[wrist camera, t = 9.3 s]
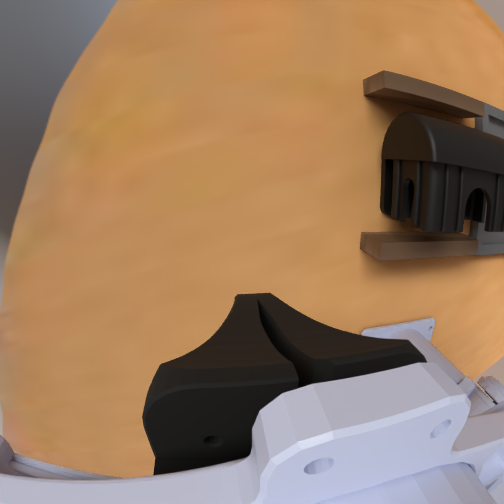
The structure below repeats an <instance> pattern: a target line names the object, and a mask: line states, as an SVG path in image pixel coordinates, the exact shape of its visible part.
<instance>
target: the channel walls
mask: <svg viewBox="0 0 504 504" xmlns="http://www.w3.org/2000/svg"><path fill="white" fill-rule="evenodd" d="M363 84H364V95H365V96H371V97H377V98H382V99H387V100H392V101H397V102H401V103H406V104H410V105H414V106H419V107H423V108H427V109H430V110H434V111H438V112H441V113H445V114H448V115H452V116H455V117H458V118H474V117H485V110H484V103H483V102H481V101H479V100H476V99H474V98H471V97H469V96H466V95H463V94H461V93H458V92H455V91H453V90H450V89H447V88H444V87H441V86H438V85H435V84H432V83H429V82H425V81H422V80H419V79H415V78H412V77H408V76H404V75H401V74H397V73H393V72H389V71H384V70H383V71H381V72H379V73H377V74H375V75H373V76H371V77H368V78H366V79H364V80H363ZM478 243H479V240H477V239H474V238H472V237H469V236H466V235H464V234H461V233H459V232H361V242H360V249H362V250H363V251H365V252H366V253H368V254H369V255H371V256H373V257H374V258H376V259H377V260H379V261H385V260H402V259H419V258H435V257H450V256H465V255H477V249H478Z"/></svg>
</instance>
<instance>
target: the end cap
mask: <svg viewBox="0 0 504 504" xmlns="http://www.w3.org/2000/svg"><path fill="white" fill-rule="evenodd" d="M381 159H382V170H381V196H380V209H381V211H382V212H383V213H385V214H387V215H391V218H392V219H395V220H398V221H400V222H406V218H412V226H413V227H416V228H418V229H421V230H424V231H428V232H463V224H464V219H467V220H473V221H477V222H480V223H484V219H485V210H486V202H487V211H486V220H485V228H484V231H487V232H504V139H503V138H500V137H498V136H495V135H492V134H489V133H486V132H483V131H480V130H477V129H474V128H470V127H467V126H464V125H460V124H457V123H453V122H450V121H446V120H442V119H439V118H435V117H431V116H426V115H422V114H418V113H413V112H405V113H403V114H400V115H399V116H397V117H396V118H395V119H394V120H393V121H392V122H391V124H390V126H389V127H388V129H387V132H386V134H385V137H384V141H383V146H382V156H381Z"/></svg>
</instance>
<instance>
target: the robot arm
mask: <svg viewBox="0 0 504 504" xmlns="http://www.w3.org/2000/svg"><path fill="white" fill-rule="evenodd" d="M434 325H435V320H434V319H433V318H426V319H421V320H416V321H410V322H405V323H399V324H393V325H387V326H380V327H374V328H367V329H365V330H363V331H362V333H361V335H358V334H353V333H350V332H346V331H342V330H339V329H336V328H333V327H330V326H327V325H325V324H322V323H320V322H317V321H315V320H313V319H311V318H309V317H307V316H305V315H304V314H302V313H300V312H298V311H297V310H295V309H293V308H292V307H290V306H289V305H287V304H286V303H284V302H283V301H281V300H280V299H278V298H277V297H275V296H274V295H272V294H271V293H257V294H238V295H237V296H236V297H235V301H234V304H233V307H232V309H231V311H230V313H229V315H228V316H227V318H226V320H225V321H224V322H223V324H222V325H221V327H220V328H219V329H218V330H217V332H216V333H215V334H214V335H213V336H212V337H211V338H210V339H209V340H207V341H206V342H205V343H203V344H202V345H201V346H199V347H198V348H196V349H195V350H193V351H191V352H189V353H187V354H185V355H183V356H181V357H179V358H176V359H174V360H171V361H168V362H166V363H162V364H161V365H160V366H159V368H158V370H157V372H156V374H155V376H154V378H153V380H152V383H151V385H150V387H149V390H148V393H147V397H146V401H145V406H144V411H143V416H142V418H143V425H144V429H145V431H146V434H147V437H148V440H149V442H150V445H151V448H152V450H153V453H154V455H155V466H154V474H153V476H144V477H134V478H120V477H113V476H106V475H100V474H94V473H89V472H84V471H79V470H74V469H69V468H65V467H61V466H57V465H53V464H49V463H46V462H42V461H39V460H35V459H32V458H29V457H25V456H22V455H19V454H16V453H14V451H13V450H12V448H11V446H10V445H9V443H8V442H7V441H6V440H5V438H3V437H2V436H1V435H0V504H504V386H503V385H502V384H501V383H500V382H499V381H498V380H496V379H495V378H494V377H492V376H488V377H481V378H480V379H479V381H478V382H477V383H478V384H479V385H480V386H481V387H482V388H483V389H484V390H485V392H486V393H487V394H488V395H489V396H490V397H491V398H492V399H493V400H494V401H492V400H491V399H490V398H489V397H488V396H486V394H485V393H484V392H483V391H482V390H481V389H480V388H479V387H478V386H477V385H476V384H474V382H473V381H472V380H471V379H470V378H468V377H466V376H465V375H464V374H463V373H462V372H461V371H460V370H459V369H458V368H457V367H456V366H454V365H453V364H452V363H451V362H450V361H449V360H448V359H447V358H446V357H445V356H444V355H443V354H442V353H441V352H440V351H439V350H438V349H437V348H436V347H435V346H433V345H432V344H431V343H430V340H431V336H432V333H433V329H434ZM429 327H430V328H429Z"/></svg>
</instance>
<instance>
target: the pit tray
mask: <svg viewBox="0 0 504 504" xmlns="http://www.w3.org/2000/svg"><path fill="white" fill-rule="evenodd" d="M481 102H482V101H481ZM483 103H484V102H483ZM484 110H485V117H475V129H477V130H480V131H483V132H486V133H489V134H492V135H495V136H498V137H500V138H503V139H504V111H502V110H500V109H498V108H496V107H493V106H491V105H489V104H486V103H484ZM486 211H487V202H486V210H485V219H484V223H480V222H477V221H473V220H471V228H470V236H469V237H472V238H474V239H477V240H479V243H478V249H477V255H473V256H479V255H493V254H504V232H487V231H484V228H485V220H486Z"/></svg>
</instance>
